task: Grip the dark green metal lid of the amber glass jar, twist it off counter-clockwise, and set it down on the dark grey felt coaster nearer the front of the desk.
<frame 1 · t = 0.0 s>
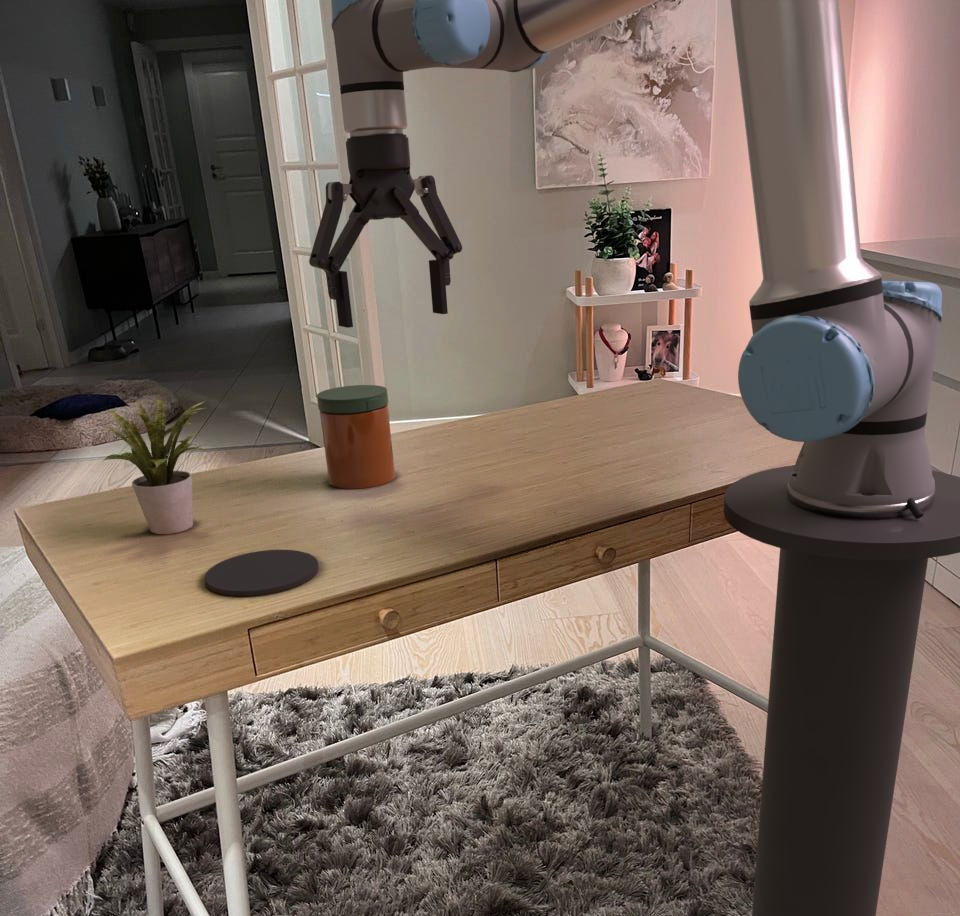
hand: (394, 320, 125), 21 cm above the table, tool pointing down, fingers open, 13 cm apart
coaster: (262, 574, 104), on the table
house plant: (178, 530, 120), on the table
jar: (362, 478, 135), on the table
jar lid: (352, 395, 130), point 12 cm above the table, screwed on, not yet turned
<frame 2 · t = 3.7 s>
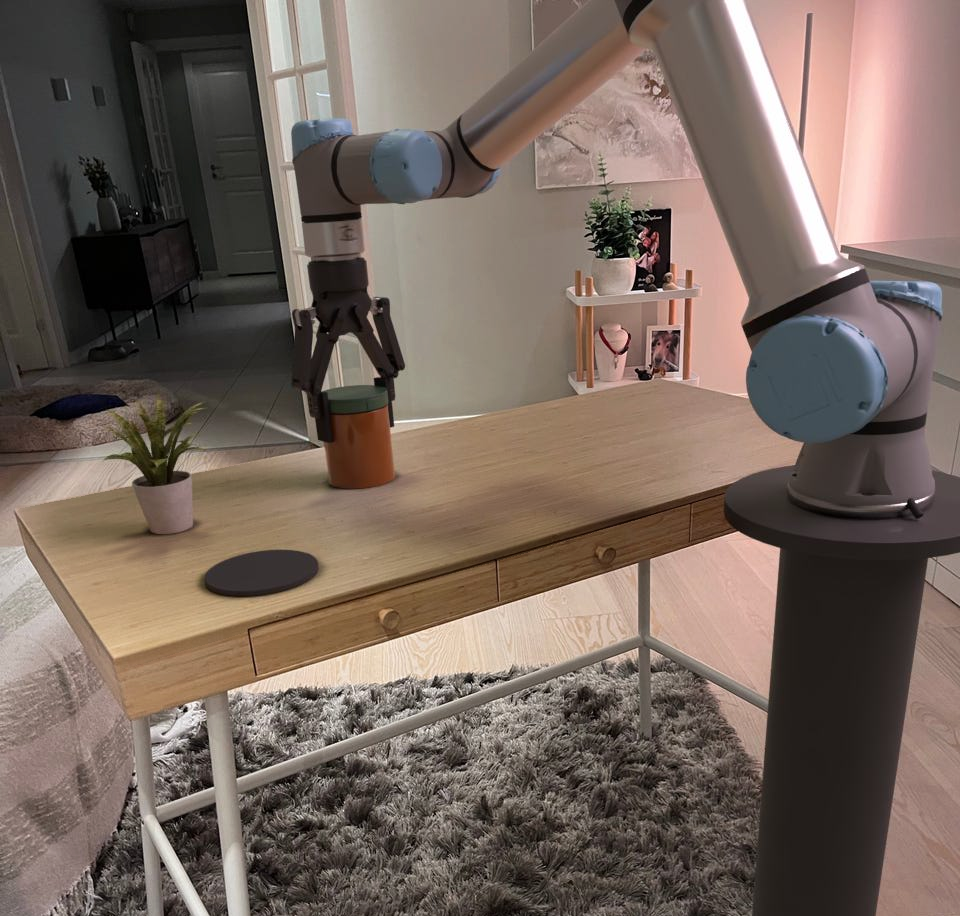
hand: (356, 433, 132), 6 cm above the table, tool pointing down, fingers closed on jar lid, 9 cm apart
jar lid: (352, 395, 130), point 12 cm above the table, screwed on, not yet turned, touching gripper
everything else where it was.
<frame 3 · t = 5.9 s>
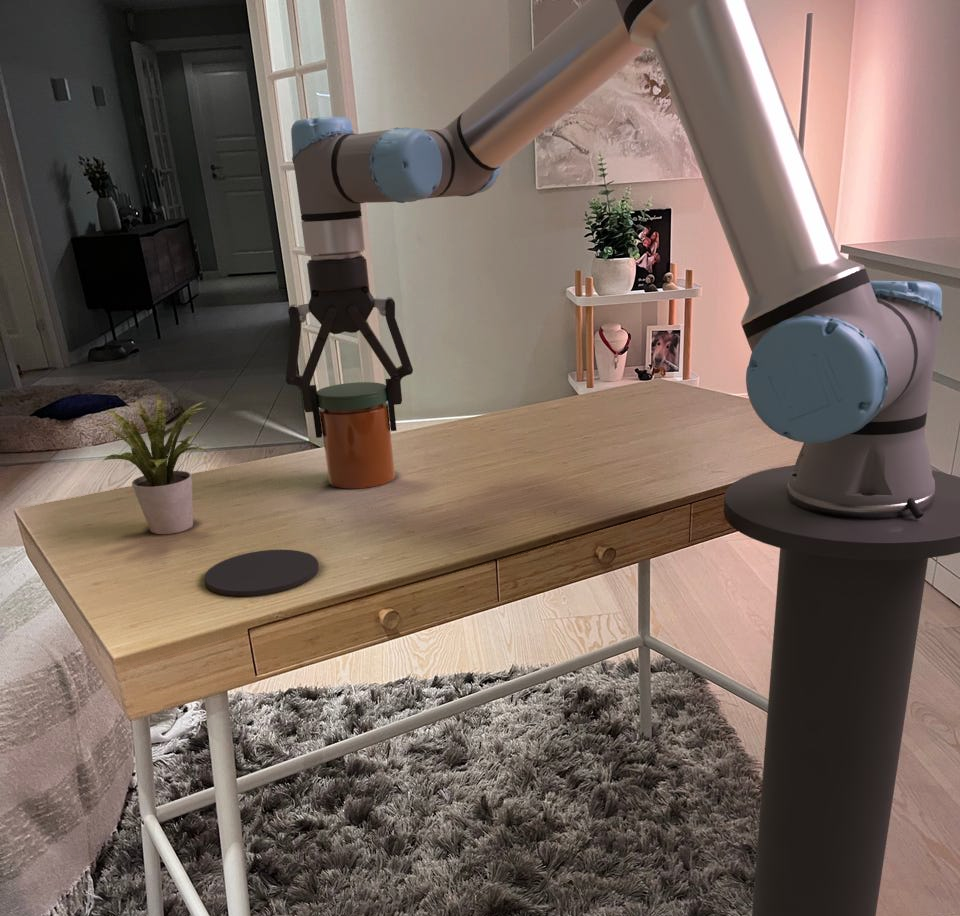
hand: (356, 432, 132), 7 cm above the table, tool pointing down, fingers closed on jar lid, 9 cm apart
jar lid: (351, 392, 130), point 12 cm above the table, off its thread, touching gripper
everything else where it was.
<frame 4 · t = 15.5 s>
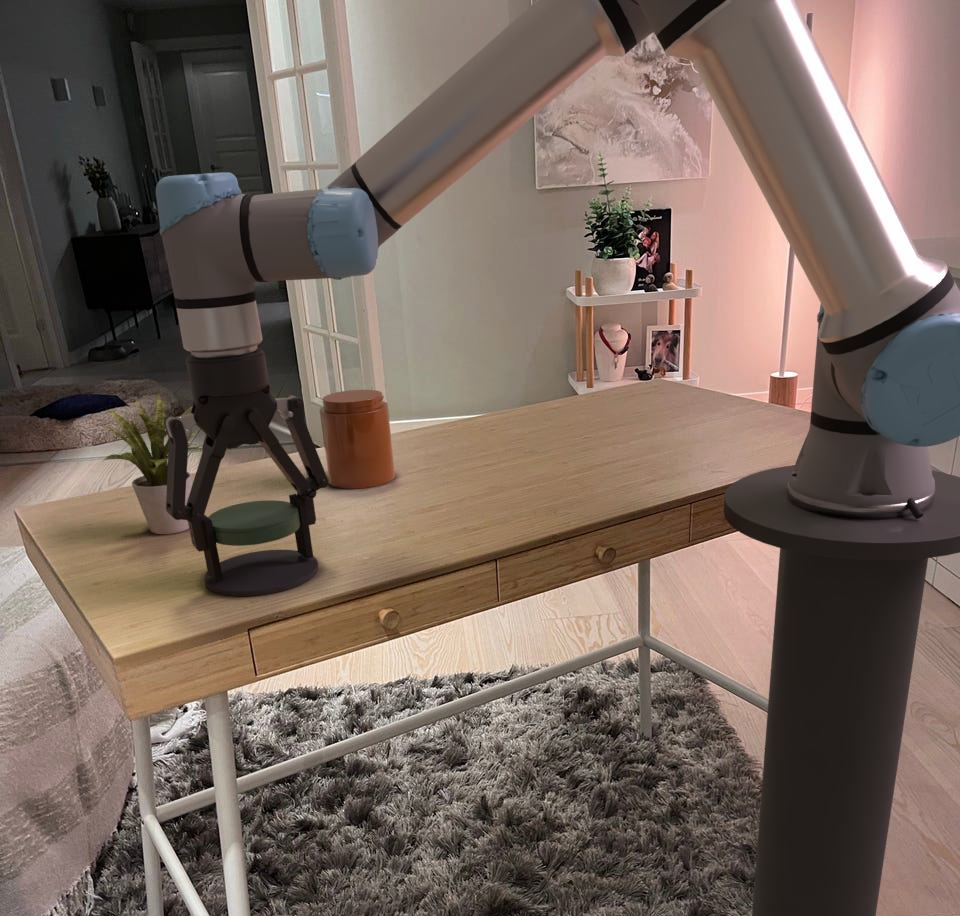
hand: (261, 565, 104), 1 cm above the table, tool pointing down, fingers closed on jar lid, 9 cm apart
jar lid: (253, 517, 101), point 6 cm above the table, off its thread, touching gripper
everything else where it was.
when the fingers open (2 cm above the table, at t = 26.1 s): jar lid drops 1 cm, resting on coaster.
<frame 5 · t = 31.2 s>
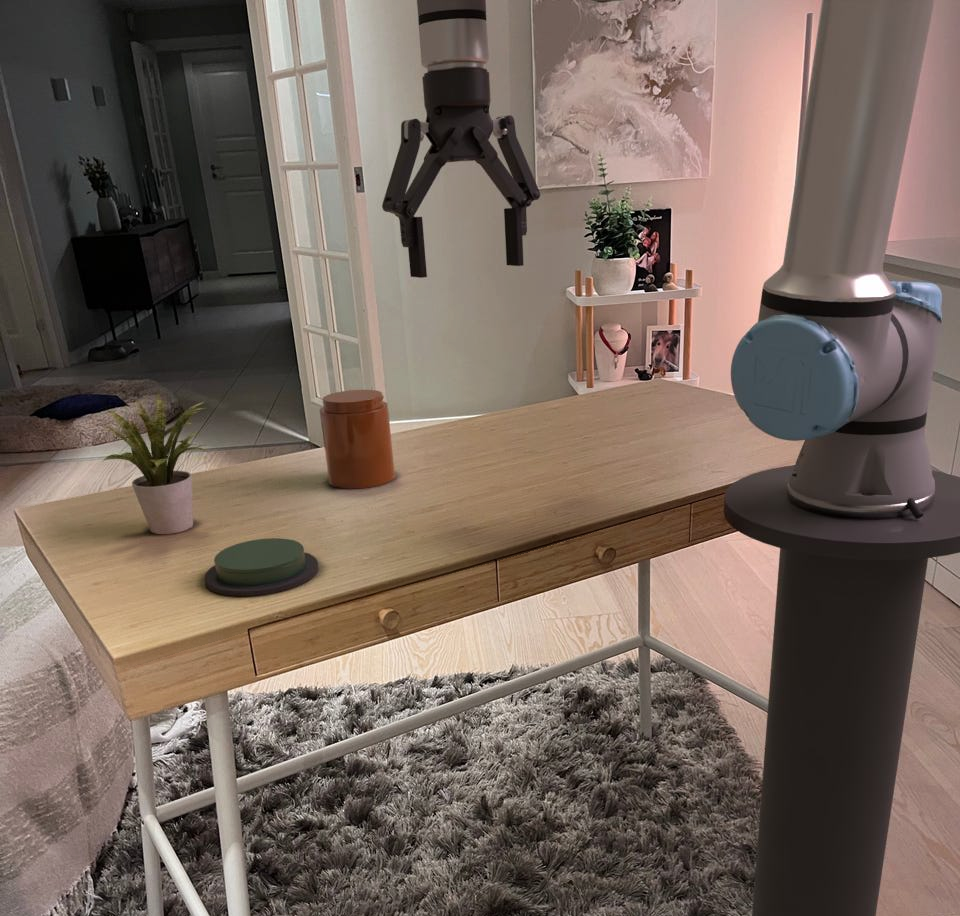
hand: (468, 271, 118), 27 cm above the table, tool pointing down, fingers open, 13 cm apart
jar lid: (259, 556, 103), point 2 cm above the table, off its thread, touching coaster
everything else where it was.
at the end: jar lid came off its thread; jar lid inside the target area on the coaster (0.0 cm from its centre), point 2.0 cm above the coaster's base; the gripper is holding nothing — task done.
